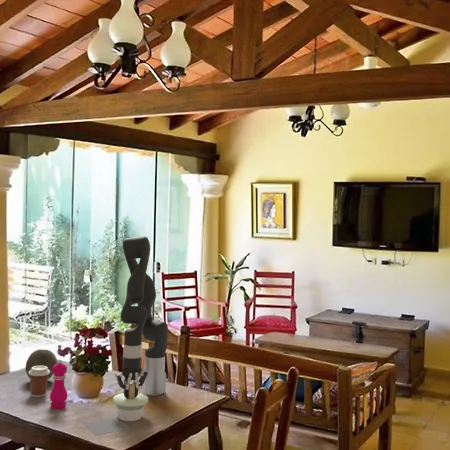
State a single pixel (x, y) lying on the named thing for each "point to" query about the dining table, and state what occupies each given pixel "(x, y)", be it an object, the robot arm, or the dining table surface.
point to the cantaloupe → (41, 360)
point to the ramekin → (129, 413)
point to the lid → (130, 398)
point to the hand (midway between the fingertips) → (130, 397)
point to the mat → (106, 426)
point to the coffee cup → (39, 380)
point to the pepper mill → (58, 386)
